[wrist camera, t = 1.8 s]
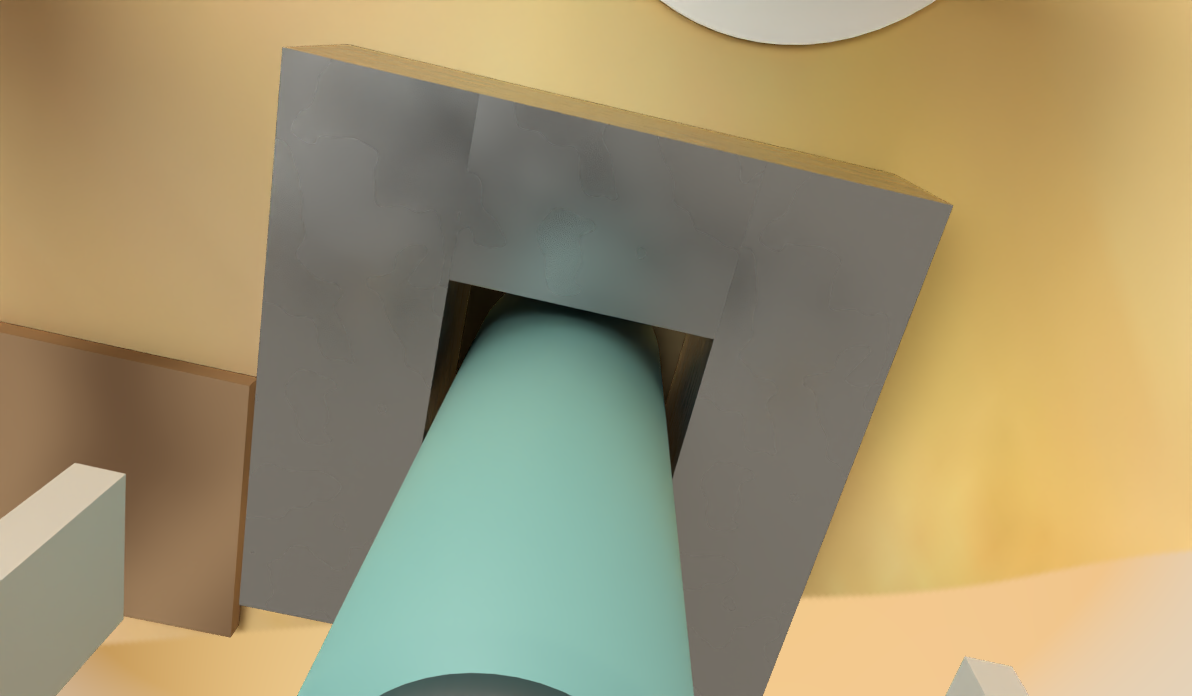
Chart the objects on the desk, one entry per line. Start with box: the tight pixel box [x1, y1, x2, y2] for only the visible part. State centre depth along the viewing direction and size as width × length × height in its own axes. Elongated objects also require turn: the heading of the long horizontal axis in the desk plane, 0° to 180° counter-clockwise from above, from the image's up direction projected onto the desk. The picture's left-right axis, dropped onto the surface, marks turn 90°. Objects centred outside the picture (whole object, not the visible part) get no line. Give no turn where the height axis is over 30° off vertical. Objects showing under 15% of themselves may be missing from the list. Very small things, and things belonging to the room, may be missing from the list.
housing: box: [239, 44, 953, 696], centre depth 21 cm, size 14×14×4 cm
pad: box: [0, 322, 257, 637], centre depth 24 cm, size 9×9×1 cm
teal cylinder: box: [297, 293, 694, 696], centre depth 16 cm, size 5×5×15 cm
